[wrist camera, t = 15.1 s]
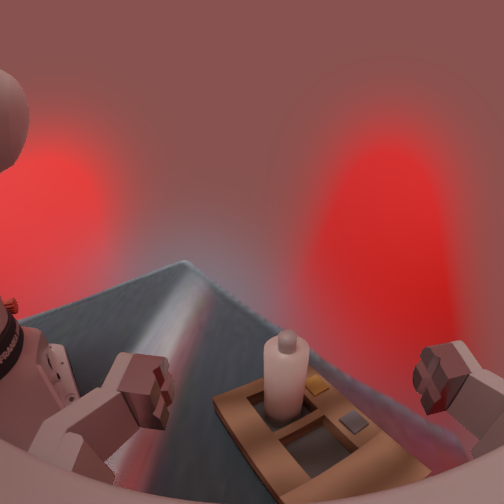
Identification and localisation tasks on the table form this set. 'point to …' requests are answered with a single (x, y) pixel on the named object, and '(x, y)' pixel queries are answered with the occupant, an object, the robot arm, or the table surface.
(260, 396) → the board
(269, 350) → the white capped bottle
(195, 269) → the table surface
